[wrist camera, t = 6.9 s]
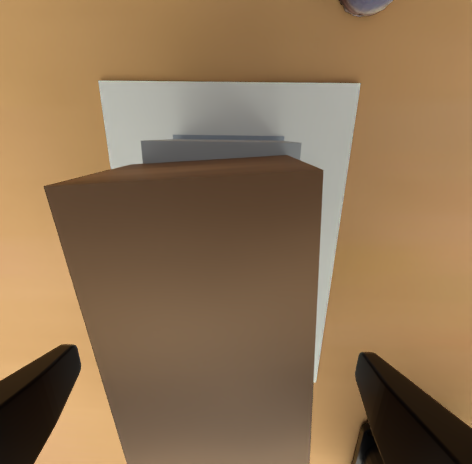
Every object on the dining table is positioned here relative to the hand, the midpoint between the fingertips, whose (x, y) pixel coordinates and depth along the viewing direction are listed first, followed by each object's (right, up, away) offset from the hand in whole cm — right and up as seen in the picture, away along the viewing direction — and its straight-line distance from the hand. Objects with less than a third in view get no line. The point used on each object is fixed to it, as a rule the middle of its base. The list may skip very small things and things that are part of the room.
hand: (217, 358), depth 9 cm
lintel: (0, +1, +2) cm, 2 cm away
